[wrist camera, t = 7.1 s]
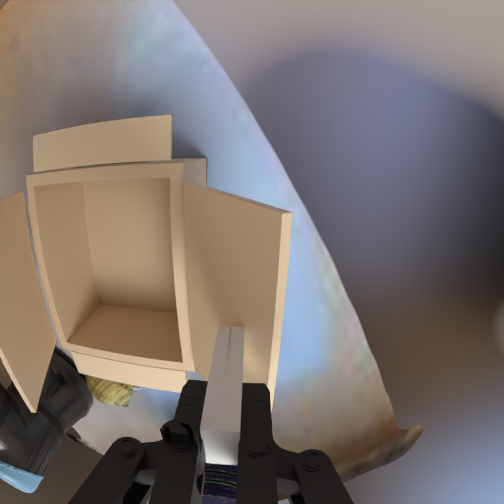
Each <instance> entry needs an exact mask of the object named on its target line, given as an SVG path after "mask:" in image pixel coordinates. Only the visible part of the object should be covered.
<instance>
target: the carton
mask: <svg viewBox="0 0 504 504" xmlns="http://www.w3.org/2000/svg"><path fill="white" fill-rule="evenodd" d="M172 120H173V115H159V116H147V117H137V118H128V119H120V120H112V121H105V122H99V123H92V124H86V125H81V126H75V127H70V128H65V129H60V130H55V131H51V132H47V133H42V134H38V135H34V136H33V170H34V172H39V171H45V172H40V173H36V174H31V175H27V176H26V184H27V196H28V206H29V214H30V222H31V229H32V235H33V241H34V246H35V252H36V257H37V262H38V266H39V271H40V275H41V279H42V283H43V287H44V291H45V295H46V299H47V302H48V306H49V309H50V312H51V316H52V319H53V322H54V325H55V328H56V331H57V334H58V337H59V340H60V343H61V345H62V348H63V349H67V350H71V354H72V356H73V359H74V362H75V364H76V367H77V369H78V372H79V373H82V374H85V375H89V376H93V377H97V378H102V379H106V380H110V381H115V382H120V383H124V384H130V385H135V386H140V387H146V388H152V389H158V390H164V391H171V392H179V393H181V391H182V387H183V386H184V385H185V384H186V383H187V375H186V371H192V372H195V369H196V368H195V366H194V356H193V347H192V336H191V325H190V313H189V299H188V284H187V267H186V245H185V212H184V183H194V184H198V185H201V186H205V187H207V158H172ZM53 169H54V170H53ZM46 170H49V171H46Z"/></svg>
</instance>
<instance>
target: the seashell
mask: <svg viewBox="0 0 504 504" xmlns="http://www.w3.org/2000/svg"><path fill="white" fill-rule="evenodd" d="M85 377H86V383H87V385H88V388H89V390H90V392H91V393H92V394H93V396H94V397H95V398H96V399H98V400H99V401H100V402H102V403H103V404H106V405H118V406H126V407H127V406H128V403H129V401H130V398H131V397H132V395H133V389H132V388H134V387H135V385H130V384H124V383H120V382H115V381H110V380H106V379H102V378H97V377H93V376H89V375H85Z"/></svg>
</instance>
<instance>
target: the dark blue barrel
mask: <svg viewBox="0 0 504 504" xmlns="http://www.w3.org/2000/svg"><path fill="white" fill-rule="evenodd" d="M237 466H238V465H224V464H212V463H206V460H205V467H204V470H205V480H204V488H203V496H202V504H236V489H237Z"/></svg>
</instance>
